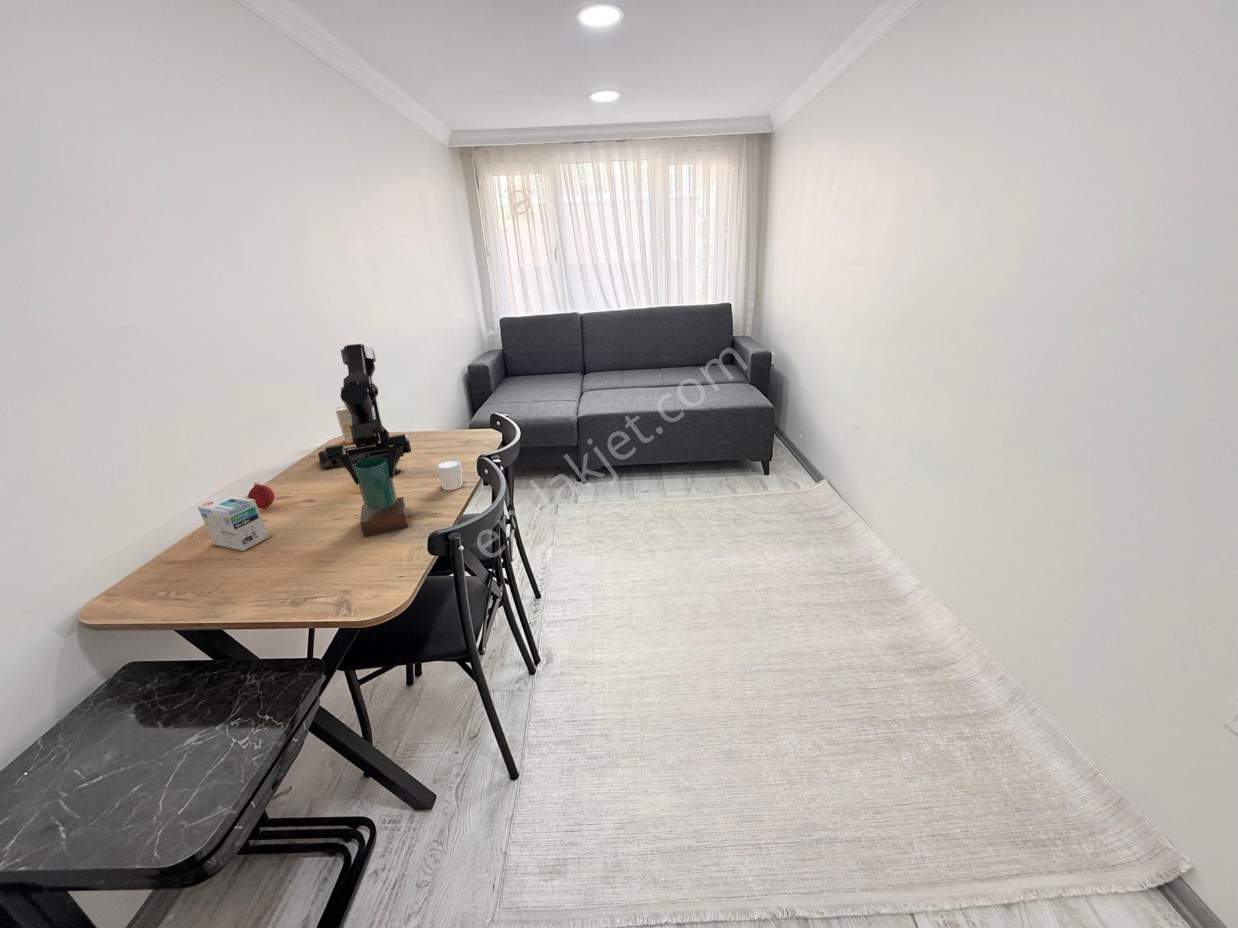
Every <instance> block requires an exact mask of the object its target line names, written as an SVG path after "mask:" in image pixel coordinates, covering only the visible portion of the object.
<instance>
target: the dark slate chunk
mask: <svg viewBox="0 0 1238 928" xmlns="http://www.w3.org/2000/svg"><path fill="white" fill-rule="evenodd" d="M355 447H356V446H351V447H344V448H345V449H349V448H355ZM317 454H318V458H319V463H320V468H321V469H327V470H328V469H330V468H334V467H338V468H339V467H340V466H339V465H335V466H332V465H330V464H329V463H328V461H327V460H326V458H325V455H324V450H320V451H319V452H318V453H317ZM365 458H366V457H365V454H361V455H356V456H350V459H351V461H352V463H353V464H355V463H356V462H358V461H360V460H362V459H365Z"/></svg>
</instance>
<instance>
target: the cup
mask: <svg viewBox="0 0 1238 928" xmlns="http://www.w3.org/2000/svg"><path fill="white" fill-rule="evenodd" d="M353 466H354V470H355V473H356V477H357V480H358V487H359V491H360V495H361V497H362V502H363V505H365V507H366V508H367V509H370V510H378V509H383V508H386V507H389V506H391V505H393V504H394V503H395V502H396V501H397V498H398V497H397V493H396V489H395V485H394V480H393V478H391V474H390V468H389V464H388V460H387V458H385V457H379V456H376V457H369V458H365V459H362V460H360V461H358V462H356V463H353Z"/></svg>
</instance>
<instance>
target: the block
mask: <svg viewBox="0 0 1238 928" xmlns="http://www.w3.org/2000/svg"><path fill="white" fill-rule="evenodd" d="M359 524H360V529H361V531H362V534H363V538H367V537H370V536H375V535H379V534H384V533H388V532H391V531H398V530H401V529H406V528H409V522H408V510H407V505H406V501H405V497H404V496H401V497H397V501H396V502H395V503H394V504H393V505H391V506H389V507H386V508H383V509H378V510H370V509H367V508H366V507H365V505H364V504H362V505H361V510H360V520H359Z"/></svg>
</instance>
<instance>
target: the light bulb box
mask: <svg viewBox="0 0 1238 928" xmlns="http://www.w3.org/2000/svg"><path fill="white" fill-rule="evenodd" d="M196 508H197V509H198V512H199V514H200V516H201V518H202V520H203V523H204V525H205V527H206V529H207V530H206V531H208V534H209V536H210V538H211V541H212V543H213V545H214V546H220V547H224V548H227V549H232V550H237V551H242V552H245V551H246V550H249V549H250V548H252V547H253V546H255V545H257V544H259V543H261V542H263V541H265V540H267V539H268V538H270V535H269V533H268V530H267V528H266V526H265V523H264V520H263V518H262V515H261V512H260V509H259V508H258V507H257V504H256V502H255V499H249V498H248V497H240V496H233V495H228V494H223V495H221V496H217V497H215V498H212V499H211V500H209V501H206V502H204V503H201V504H199V505H197V507H196Z"/></svg>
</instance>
